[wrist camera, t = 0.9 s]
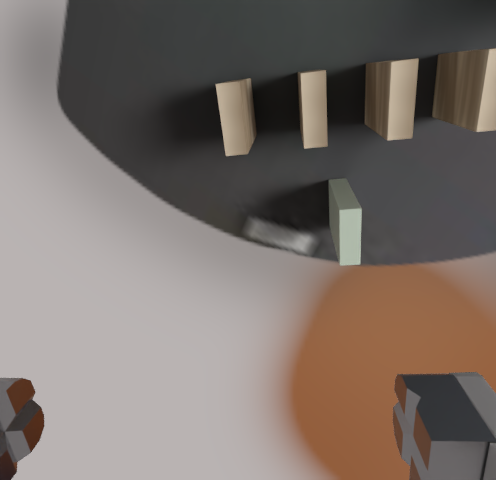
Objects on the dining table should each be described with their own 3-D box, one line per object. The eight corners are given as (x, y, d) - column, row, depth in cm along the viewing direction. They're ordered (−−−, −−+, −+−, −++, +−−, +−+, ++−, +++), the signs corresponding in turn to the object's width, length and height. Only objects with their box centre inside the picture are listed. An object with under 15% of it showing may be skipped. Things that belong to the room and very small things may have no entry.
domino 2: (300, 130, 40) (304, 148, 31) (297, 72, 37) (300, 73, 28) (318, 128, 39) (327, 146, 31) (316, 69, 37) (325, 70, 28)
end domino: (329, 225, 44) (339, 265, 35) (328, 179, 42) (339, 209, 33) (345, 224, 44) (360, 264, 35) (345, 178, 42) (361, 208, 33)
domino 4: (431, 116, 38) (476, 131, 29) (438, 54, 35) (489, 49, 26) (451, 114, 37) (503, 129, 29) (459, 51, 35) (518, 45, 26)
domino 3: (364, 123, 39) (387, 140, 30) (365, 63, 36) (391, 61, 27) (383, 121, 38) (412, 138, 30) (386, 60, 36) (418, 58, 27)
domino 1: (239, 136, 41) (225, 156, 32) (232, 80, 38) (215, 84, 29) (256, 135, 40) (247, 153, 32) (250, 78, 38) (239, 81, 29)
